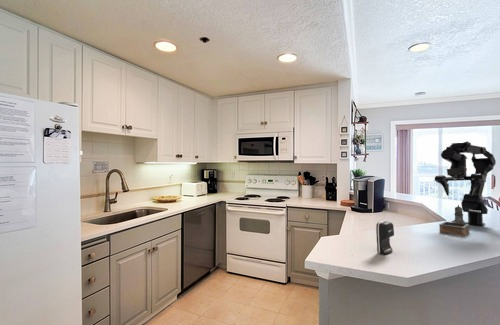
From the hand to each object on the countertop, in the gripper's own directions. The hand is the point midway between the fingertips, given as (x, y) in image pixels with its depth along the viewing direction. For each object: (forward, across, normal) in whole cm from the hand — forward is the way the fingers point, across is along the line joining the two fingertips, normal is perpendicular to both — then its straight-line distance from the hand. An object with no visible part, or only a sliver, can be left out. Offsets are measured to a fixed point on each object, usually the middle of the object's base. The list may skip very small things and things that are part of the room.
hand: (459, 195), depth 119 cm
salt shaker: (+15, -2, +7) cm, 17 cm away
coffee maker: (+34, -7, -50) cm, 61 cm away
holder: (+18, -2, -2) cm, 18 cm away
